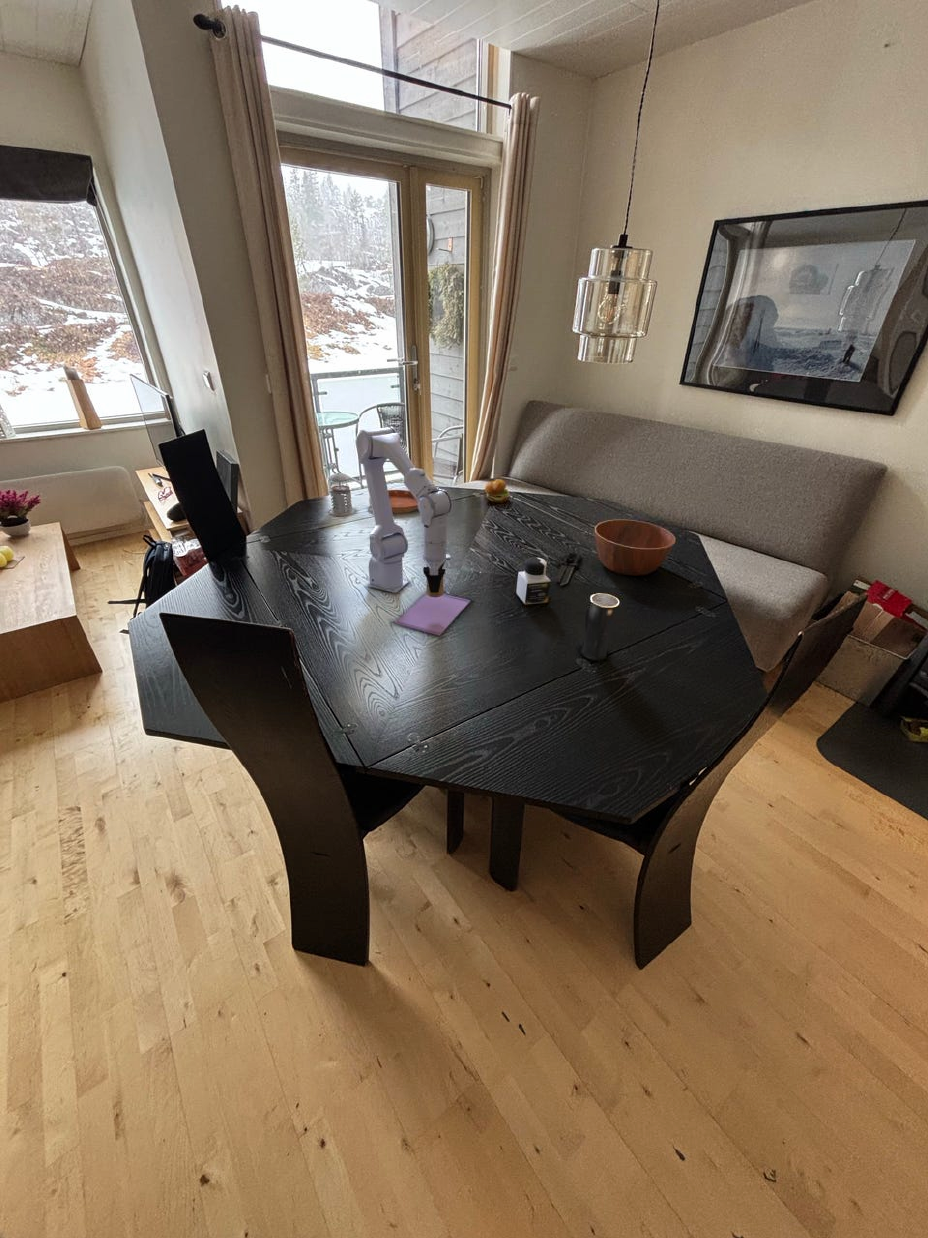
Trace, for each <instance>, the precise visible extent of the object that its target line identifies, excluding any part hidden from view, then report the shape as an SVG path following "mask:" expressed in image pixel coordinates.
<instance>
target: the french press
mask: <svg viewBox="0 0 928 1238" xmlns="http://www.w3.org/2000/svg"><path fill="white" fill-rule="evenodd" d="M339 451H340V449H339V447H334V448H333V452H335V453H336V454H335V455H336V456H338V452H339ZM336 465H337V466H339V460H338V458H336ZM327 478H328V480H329V481H331V482H335V483H337V482H338V484H337V485H333V486H331V487H330V492H329V493H330V501H331V510H330V511H329V513H330V515H332V516H336V517H346V516H350V515H353V514H355V512H356V511H355V509H354V508H353V507H352V506H353V505H352V504H353V503H352V494H351V493H352V492H351V489H350V486H349V485H348V483H345V485H344V484H343V483H342V482H347V481H348V480H349V479H350V476H349V475H348V474H346V473H343V472H340V471H339V468H337V473H333V474H330V475H329V476H328V477H327ZM341 483H342V484H341Z"/></svg>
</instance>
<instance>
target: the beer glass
mask: <svg viewBox="0 0 928 1238" xmlns="http://www.w3.org/2000/svg"><path fill="white" fill-rule="evenodd" d="M589 598H590V599H589V601H588V604H587V608H586V613H585V622H584V623H585V624H584V625H585V626H584V627H585V628H584V629H585V638H584V642H583V645H582V647H581V650H580V653H581V655H582V657H584V658H586V659H588V660H590V661H594V662H599V661H603V660H605V659H606V658H607V655H608V643H609V640H610V638H611V636H612V633H613V631H614V629H615V627H616V623H617V619H618V615H619V607H620V600H619V599H618V598H617V597H615V596H614V595H612V594H608V593H595V594H592V595H590V597H589Z"/></svg>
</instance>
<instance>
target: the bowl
mask: <svg viewBox="0 0 928 1238" xmlns="http://www.w3.org/2000/svg"><path fill="white" fill-rule="evenodd" d="M594 541H595V548H596V553H597V556H598V559H599V561H600V563H601V564H602V565H603V566H604V567H605V568H607V569H608V570H610V571H611V572H614V573H617V574H620V575H624V576H632V577H636V576H637V577H640V576H646V575H649V574H651V573H653V572H655V571H656V570H657V569H659V568H660V567H661V565H662V564H663V563H664V561H665V560H666V559H667V558H668V556H669V554H670V553H671V551H672V549H673V547H674V545H675V543H676V537H675V535H674V534H673V533H672V532H671V531H670V530H668V529H666V528H664V527H661V526H660V525H657V524H654V523H650V522H647V521H641V520H634V519H610V520H604V521H601V522H599V523H598V524H596V525H595V527H594Z"/></svg>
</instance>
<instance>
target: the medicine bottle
mask: <svg viewBox="0 0 928 1238" xmlns="http://www.w3.org/2000/svg"><path fill="white" fill-rule="evenodd" d="M547 564H548V563H547V561H546V560H545V559H544V558H541V557H528V558H527V559H525V561H524V569H523V571H518V574H517V582H516V590H515V591H516V592H515V593H516V595H517V596H518V597H519V599H520V600H521V601H522V603H523V604H524V605H525V606H526V605H534V604H544V603H548V602H549V594H550V588H551V579H550V578H549V577H548V576H547V575H546V574H547V573H546V571H547V566H548V565H547Z"/></svg>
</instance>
